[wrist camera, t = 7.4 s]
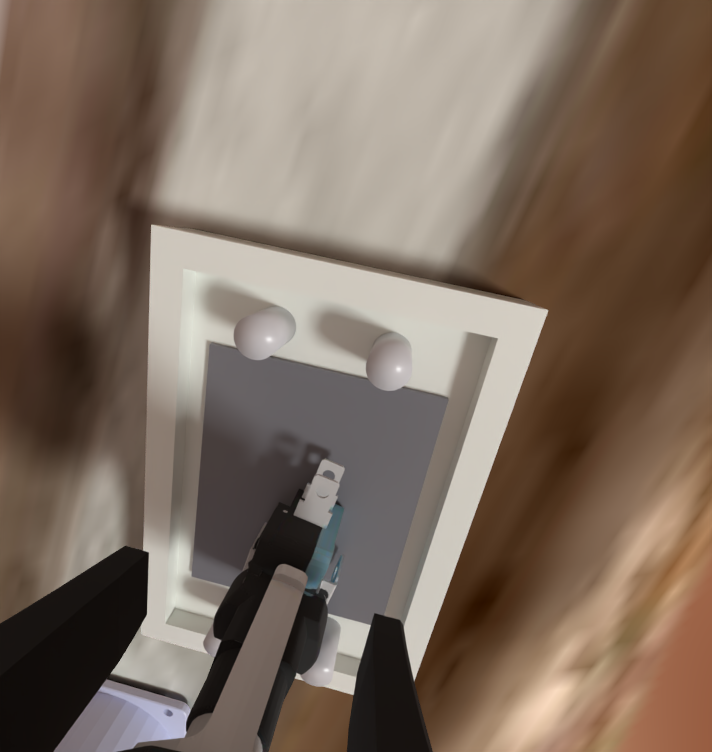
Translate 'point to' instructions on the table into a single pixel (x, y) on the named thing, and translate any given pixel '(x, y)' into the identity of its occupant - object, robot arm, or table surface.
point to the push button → (267, 625)
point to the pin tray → (318, 428)
